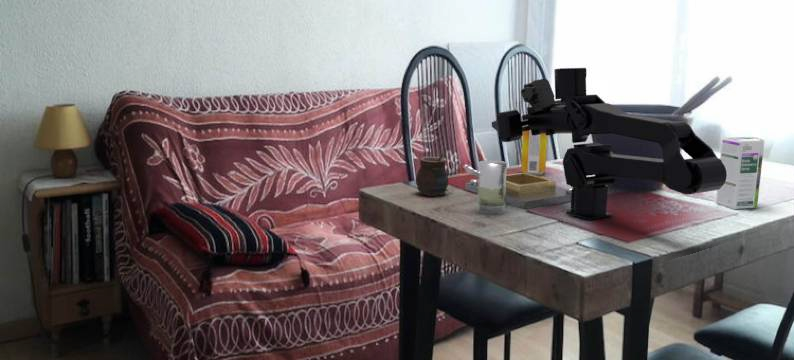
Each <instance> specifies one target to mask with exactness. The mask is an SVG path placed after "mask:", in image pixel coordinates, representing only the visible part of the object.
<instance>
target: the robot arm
mask: <svg viewBox="0 0 794 360" xmlns="http://www.w3.org/2000/svg"><path fill="white" fill-rule="evenodd" d="M520 94H521V96H522V99H523V102H524V103H528V104H529V105H530V106H528V107H526V112H527V114H523V115H521V113H520V111H519V110H517V109H512V110H506V111H499V112H498V114H497V120H494V121H492V122H491V128H493V129H494V130H495V131H496V132H498V133H499V139H500V141H501V142H503V143H509V142H514V141H518V140H521V139H522V138H523V132H524V131H528V130H531V133H532V135H539V134H546V135H547V136H553V135H556V134H559V135H560V134H561V135H562V134H571V142H572V143H573V147H571V148H568V149H566V151H565V153H564V155H563V159H562V166H563V172H564V177H565V182H566V185H567V186H570V188H573V189H572V195H571V201H570V209H566V210H565V213H566V214H569V215H571V216H574V217H575V216H576V217H577V218H581V219H583V220H584V219H585V220H588V221H592V220H596V219H602V218H608V217H612V216H613V213H611V212H608V211H607V207H608V196H609V192H608V191H609V186H610V185H612V186H614V185H616V182H617V179H618V177H619V178H620V177H621V178H627V179H628V178H629V179H632V180H633V179H634V180H640V181H641V180H642V181H649V182H654V183H661V184H662V185H664V186H665V187H666V188H667V189H669V190H671V191H675V192H677V193H680V194H683V195H694V194H702V193H708V192H714V191H717V190H719V189H720V188H721V187H722V186H723V185H724V183H725V181H726V177H727V174H726V168H725V166H724V164H723V163H722V161H721V159H720V158H719V157H718V156H717V155H716V153H715V152H714V150H713V149H712V147H711V146H709V145H708V144H707V143H706V142H705V141H704V140H703V139H701V137H699V136H698V135H697V134H696V133H695V131H694V130H693V128H692V126H691V125H690V124H689V123H687V122H684V121H681V120H679V121H673V120H667V119H664V118H663V119H662V118H656V117H650V116H644V115H640V114H639V115H638V114H633V113H627V112H626V111H623V110H622V108H620V107H618V106H615V105H613V104H611V103H607V102H605V101H604V100H603V99H602V98H601V97H600V96H599V95H597V94H587V68H586V67H567V68H566V67H564V68H554V91H553V89H552V87H551V84H550V82H549V80H548V79H547V78H542V79H541V78H540V79H535V80H532V81H531V82H530V83H525V84H524V85H523V88H522V89H521V90H520ZM526 125H528V126H526ZM523 126H524V127H523ZM605 134H613V135H618V136H624V137H628V138H633V139H638V140H643V141H647V142H652V143H656V144H658V145H659V146H660V148H661V150H662V158H657V157H656V158H653V157H647V156H646V157H645V156H635V155H627V154H626V155H625V154H616V153H614V152H613V151H611V150H612V144H611V143H606V144H602V143H600V142H589V143H586V142H587V140H588V138H589V136H591V135H605ZM577 143H579V144H577ZM681 150H682V151H683V152H685V153H686V154H687V155H688V156H689V157H690V158H684V156H683V155H682V153H681Z"/></svg>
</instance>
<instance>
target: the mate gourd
mask: <svg viewBox="0 0 794 360" xmlns="http://www.w3.org/2000/svg"><path fill="white" fill-rule="evenodd" d="M445 154H446V152H444V153H442V154H441V155H440V156H439V157H438V156H424V157H421V158H420V161H419V162H420V163H419V164H420V168H419V169H418V171H417V173H416V178H415V184H416V187H417V190H418V192H420V193H421V194H422V195H423V196H426V197H427V196H428V197H438V196H441V195H443V194H444V193H445V192H446V191H447V188H448V185H449V176H448V174H447V171H446V159H445V158H443V157H444V155H445Z"/></svg>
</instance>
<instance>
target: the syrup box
mask: <svg viewBox="0 0 794 360" xmlns="http://www.w3.org/2000/svg"><path fill="white" fill-rule="evenodd" d="M764 147H765V140H764V139H762V138H759V137H754V136H747V135H745V136H728V137H722V138H721V149H720V156H719V157H720V158H719V159H721V161H722V163H723V164H724V166H725V168H726V174H727V177H726V181H725V183H724V185H723V186H722V187H721V188H720V189H719V190H716V199H715V203H716V204H717V205H721V206H723V207H725V208H729V209H732V210H740V209H741V210H742V209H757V208H758V202H759V196H760V195H759V194H760V184H761V174H762V166H763V159H764V158H763V157H764V149H765V148H764Z"/></svg>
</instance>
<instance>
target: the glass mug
mask: <svg viewBox="0 0 794 360" xmlns="http://www.w3.org/2000/svg"><path fill="white" fill-rule="evenodd" d="M507 164H508V163H507V162H506V161H503V160H499V159H498V160H496V159H485V160H480V161H478V170H477V169H474V168H473V167H472V166H470V165H468V164H464V165H463V166H462V167H463V169H464V170H466V171H467V172H469V173H471V174H472V175H474V176H475V177H478V178H477V180H478V194H477V199H476V200H477V201H476V203H477V205H476V208H477V209H476V211H477V213H479V214H482V215H487V216H489V215H490V216H497V215H498V216H499V215H502V214H503V215H504V214H505V212H506V211H505V210H506V203H505V199H506V175H507V170H508V169H507V168H508V167H507V166H508V165H507Z"/></svg>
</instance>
